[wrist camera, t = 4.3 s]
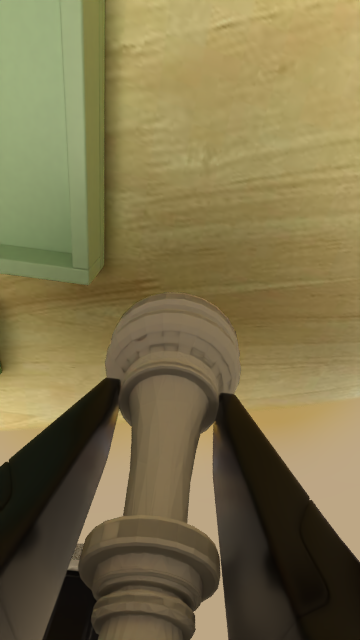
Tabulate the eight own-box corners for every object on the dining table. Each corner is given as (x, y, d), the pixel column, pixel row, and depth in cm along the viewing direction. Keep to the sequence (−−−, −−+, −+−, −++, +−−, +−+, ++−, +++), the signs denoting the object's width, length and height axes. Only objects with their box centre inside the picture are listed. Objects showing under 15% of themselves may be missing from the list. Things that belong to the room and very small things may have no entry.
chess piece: (127, 395, 12) (-45, 991, 4) (101, 295, 10) (-444, 1130, 2) (238, 390, 12) (347, 1049, 3) (236, 284, 10) (530, 1364, 1)
